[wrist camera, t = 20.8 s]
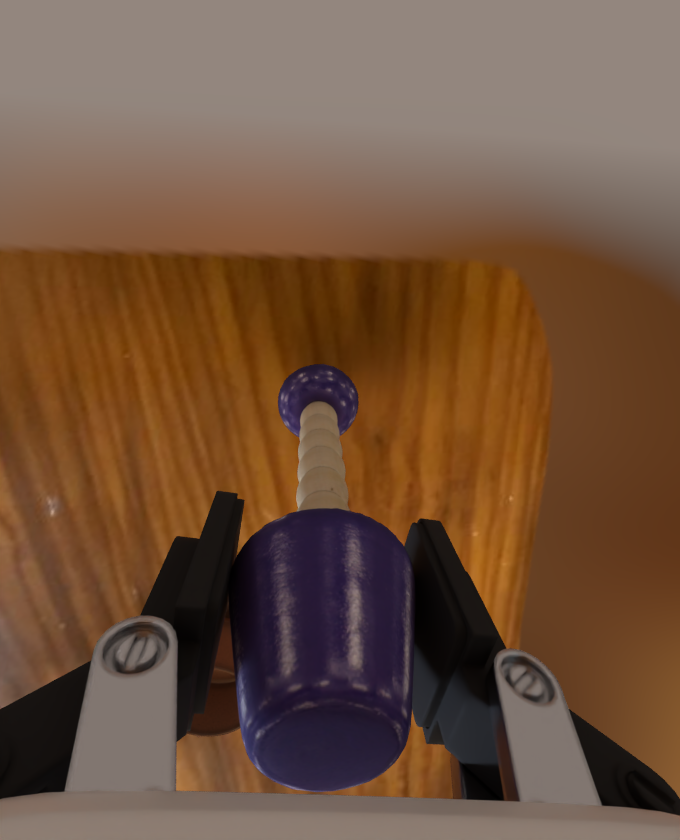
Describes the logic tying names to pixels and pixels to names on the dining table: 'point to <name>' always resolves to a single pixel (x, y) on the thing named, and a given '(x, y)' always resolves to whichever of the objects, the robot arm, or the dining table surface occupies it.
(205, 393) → the dining table surface
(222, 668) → the cup and saucer
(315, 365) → the toy lamp
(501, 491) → the dining table surface
